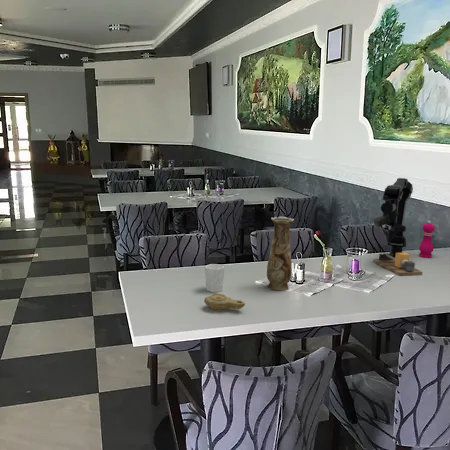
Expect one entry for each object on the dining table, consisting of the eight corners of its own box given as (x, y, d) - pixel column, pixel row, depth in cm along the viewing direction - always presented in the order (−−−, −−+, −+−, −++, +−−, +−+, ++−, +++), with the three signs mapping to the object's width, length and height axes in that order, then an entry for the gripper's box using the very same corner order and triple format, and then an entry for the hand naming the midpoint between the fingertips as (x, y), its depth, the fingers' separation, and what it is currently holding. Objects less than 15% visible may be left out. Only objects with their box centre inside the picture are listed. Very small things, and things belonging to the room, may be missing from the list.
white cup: (214, 285, 207) (215, 262, 205) (227, 290, 202) (228, 267, 200) (201, 289, 202) (201, 266, 200) (213, 294, 196) (214, 270, 194)
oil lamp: (245, 313, 177) (246, 300, 176) (207, 315, 174) (207, 302, 173) (239, 303, 187) (239, 291, 186) (202, 305, 184) (203, 292, 183)
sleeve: (394, 265, 237) (395, 252, 236) (403, 265, 238) (404, 252, 237) (399, 267, 233) (400, 254, 232) (408, 267, 234) (409, 254, 233)
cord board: (373, 262, 250) (374, 250, 249) (393, 261, 253) (394, 249, 251) (399, 276, 227) (400, 263, 226) (422, 274, 230) (423, 262, 228)
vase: (261, 286, 207) (264, 218, 201) (276, 281, 215) (279, 215, 209) (281, 292, 200) (284, 221, 194) (295, 287, 208) (299, 218, 202)
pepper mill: (415, 255, 265) (419, 219, 261) (425, 254, 268) (428, 219, 264) (425, 258, 259) (429, 222, 255) (435, 257, 262) (439, 221, 258)
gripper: (367, 208, 247) (364, 238, 250) (387, 215, 229) (384, 247, 232) (386, 208, 249) (384, 237, 252) (408, 214, 231) (404, 246, 234)
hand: (388, 242), depth 243 cm, fingers closed
